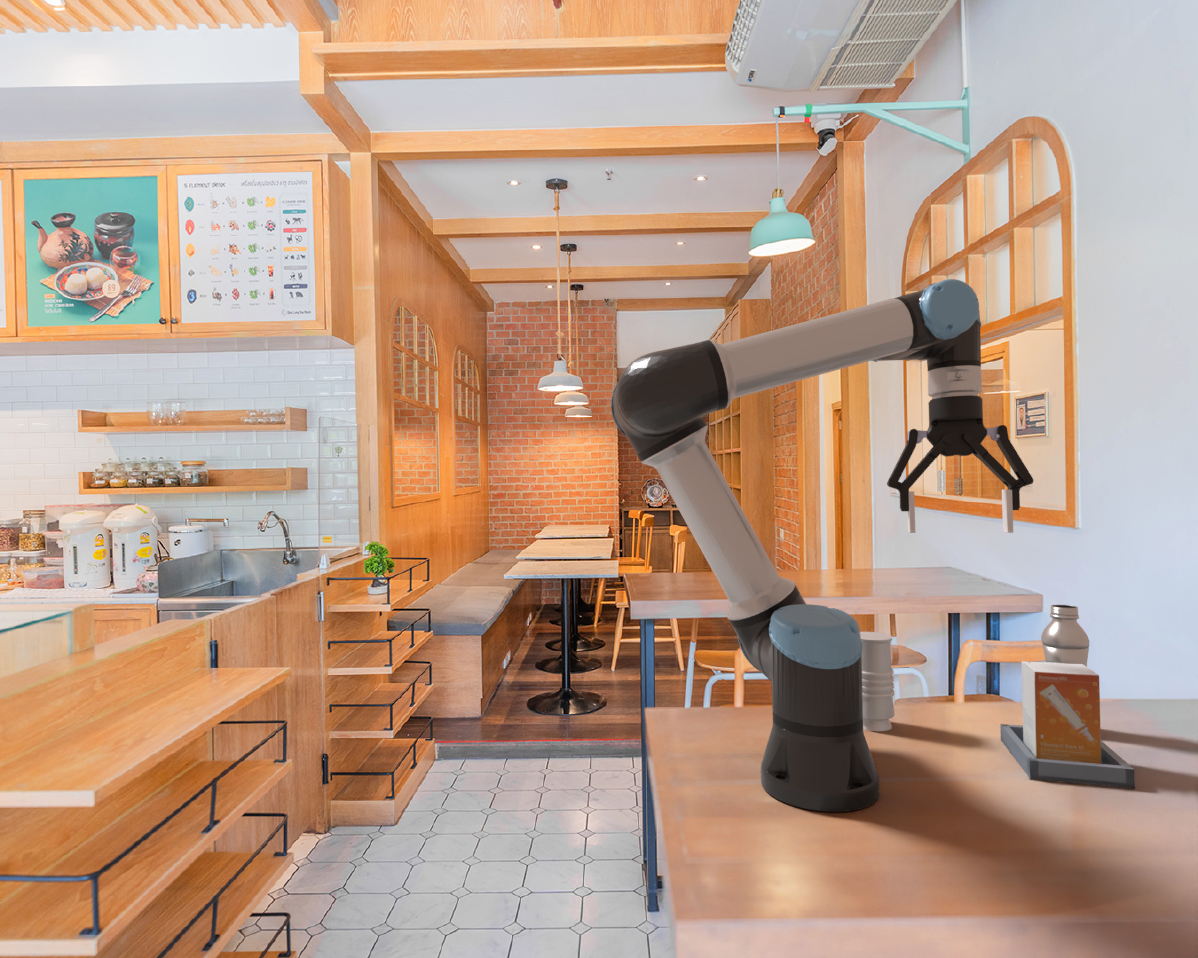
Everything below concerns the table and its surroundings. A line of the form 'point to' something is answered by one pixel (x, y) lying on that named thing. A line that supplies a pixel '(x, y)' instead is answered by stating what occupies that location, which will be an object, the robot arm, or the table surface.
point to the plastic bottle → (1065, 637)
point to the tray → (1069, 764)
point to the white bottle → (877, 681)
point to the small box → (1061, 712)
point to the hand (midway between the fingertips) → (958, 532)
